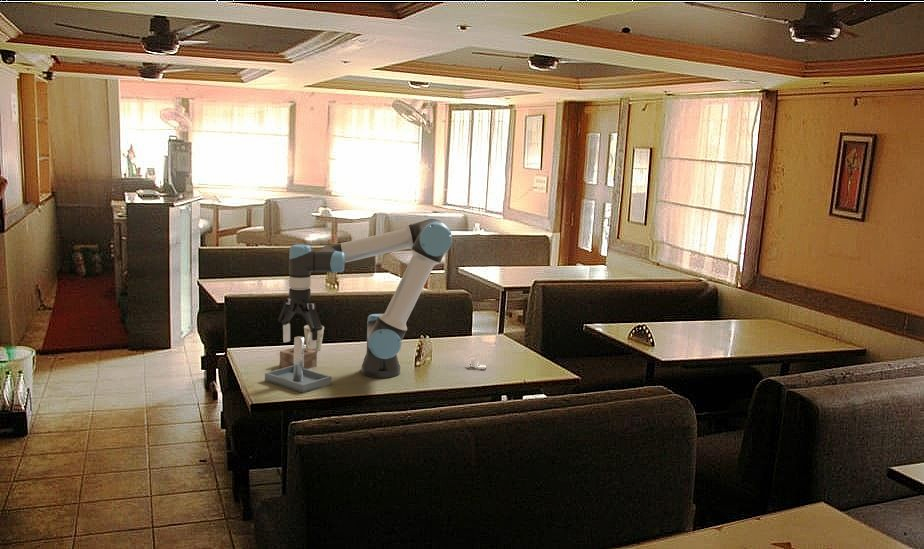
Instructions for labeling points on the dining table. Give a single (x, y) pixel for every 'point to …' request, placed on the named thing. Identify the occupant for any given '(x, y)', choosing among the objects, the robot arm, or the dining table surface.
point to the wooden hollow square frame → (288, 358)
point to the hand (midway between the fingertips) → (299, 345)
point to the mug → (319, 338)
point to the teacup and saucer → (476, 363)
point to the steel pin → (298, 359)
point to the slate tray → (309, 382)
